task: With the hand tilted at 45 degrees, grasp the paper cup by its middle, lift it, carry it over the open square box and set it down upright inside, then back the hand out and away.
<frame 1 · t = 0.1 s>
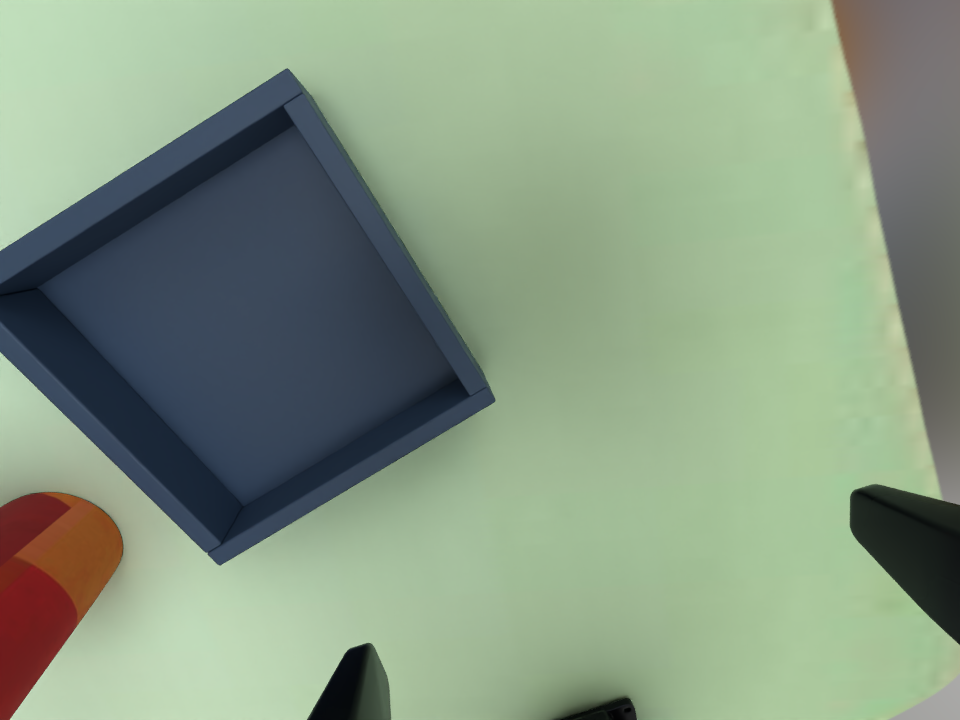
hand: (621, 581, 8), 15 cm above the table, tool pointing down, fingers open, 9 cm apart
open square box: (274, 330, 21), on the table
paper cup: (62, 540, 22), on the table
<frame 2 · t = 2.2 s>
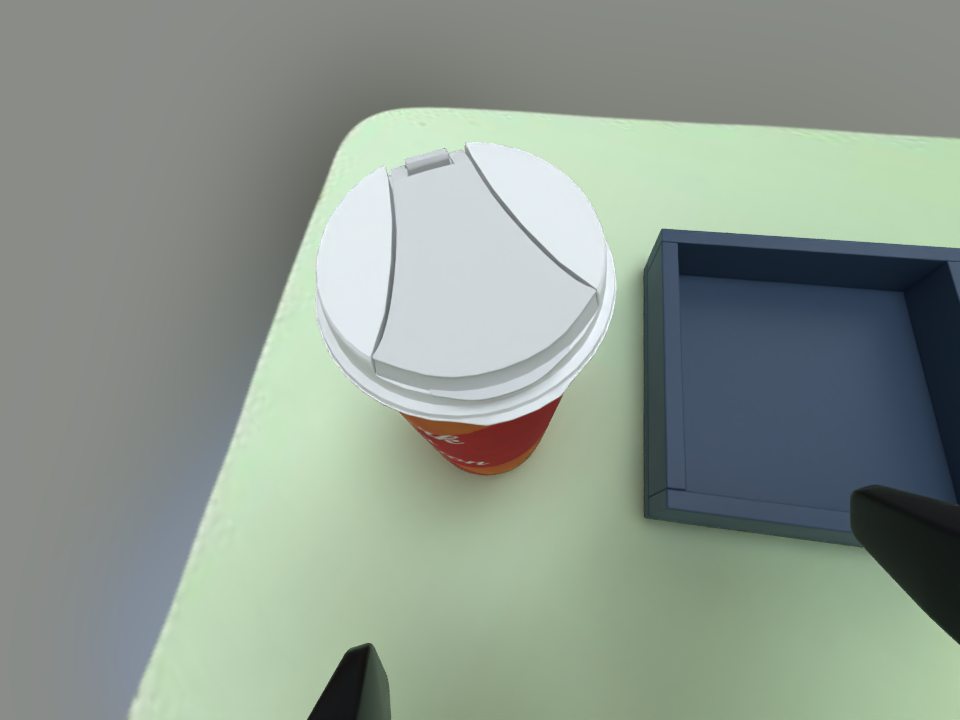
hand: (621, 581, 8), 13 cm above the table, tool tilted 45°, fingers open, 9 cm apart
open square box: (785, 393, 23), on the table
paper cup: (488, 422, 24), on the table
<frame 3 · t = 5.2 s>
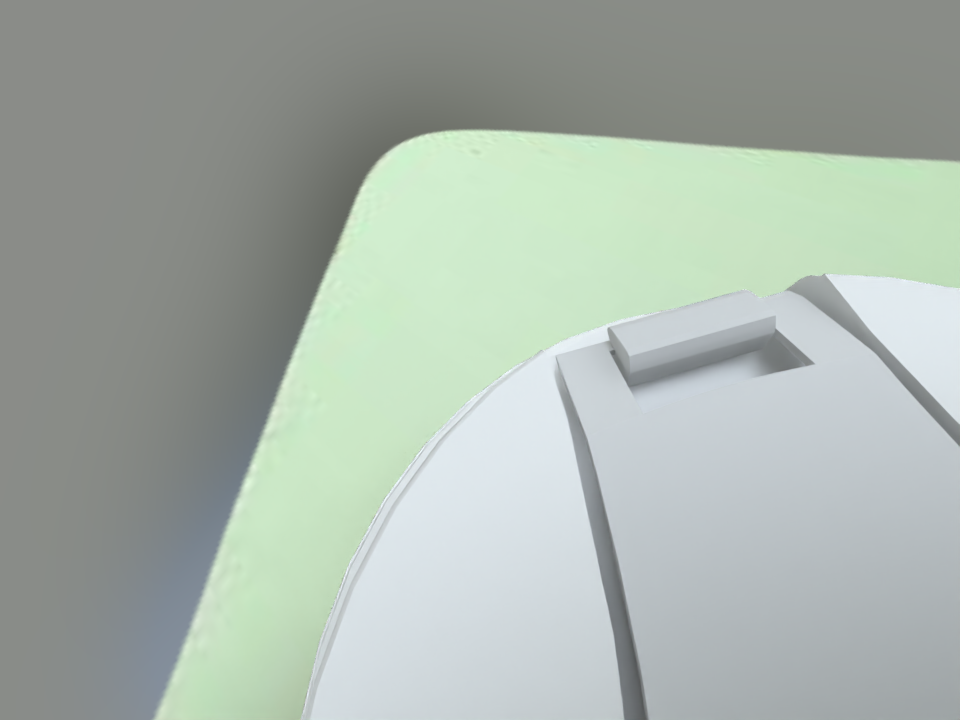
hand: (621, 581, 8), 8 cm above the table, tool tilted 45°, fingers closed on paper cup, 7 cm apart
paper cup: (591, 632, 15), on the table, touching gripper
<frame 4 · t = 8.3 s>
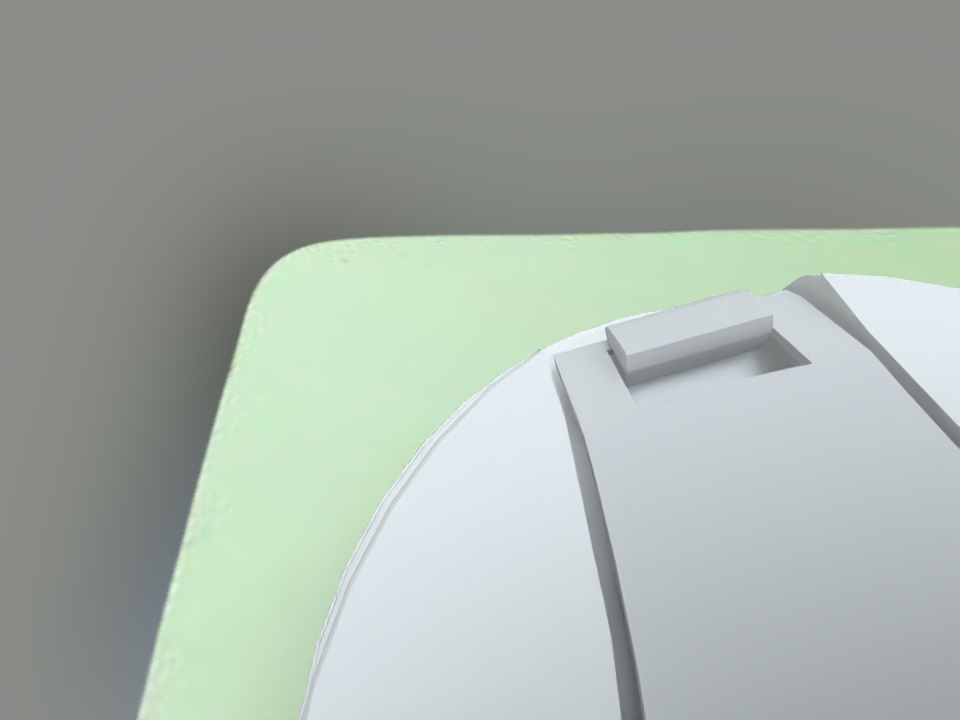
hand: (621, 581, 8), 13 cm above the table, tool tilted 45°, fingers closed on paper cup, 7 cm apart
paper cup: (590, 632, 15), point 5 cm above the table, touching gripper
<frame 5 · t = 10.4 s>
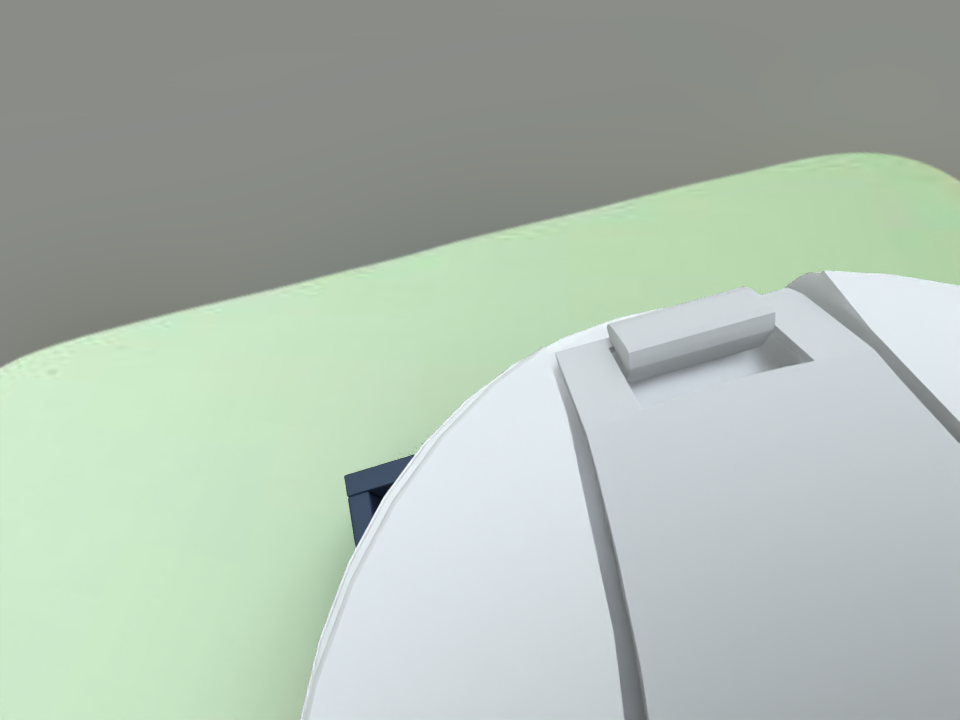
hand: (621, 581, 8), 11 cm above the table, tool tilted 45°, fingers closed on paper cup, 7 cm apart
open square box: (575, 614, 18), on the table
paper cup: (591, 631, 15), point 3 cm above the table, touching gripper
when the fingers open (8 cm above the table, at t = 11.8 s): paper cup stays where it is, resting on open square box.
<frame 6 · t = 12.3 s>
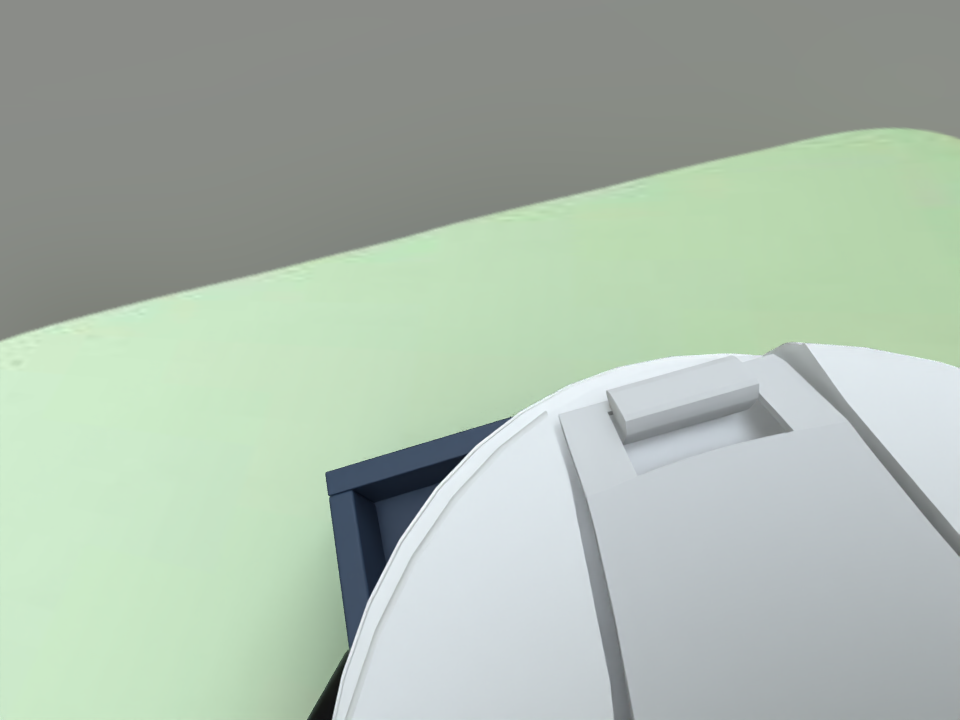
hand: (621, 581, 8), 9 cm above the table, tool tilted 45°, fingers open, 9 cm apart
open square box: (586, 630, 16), on the table
paper cup: (591, 639, 15), point 1 cm above the table, touching open square box
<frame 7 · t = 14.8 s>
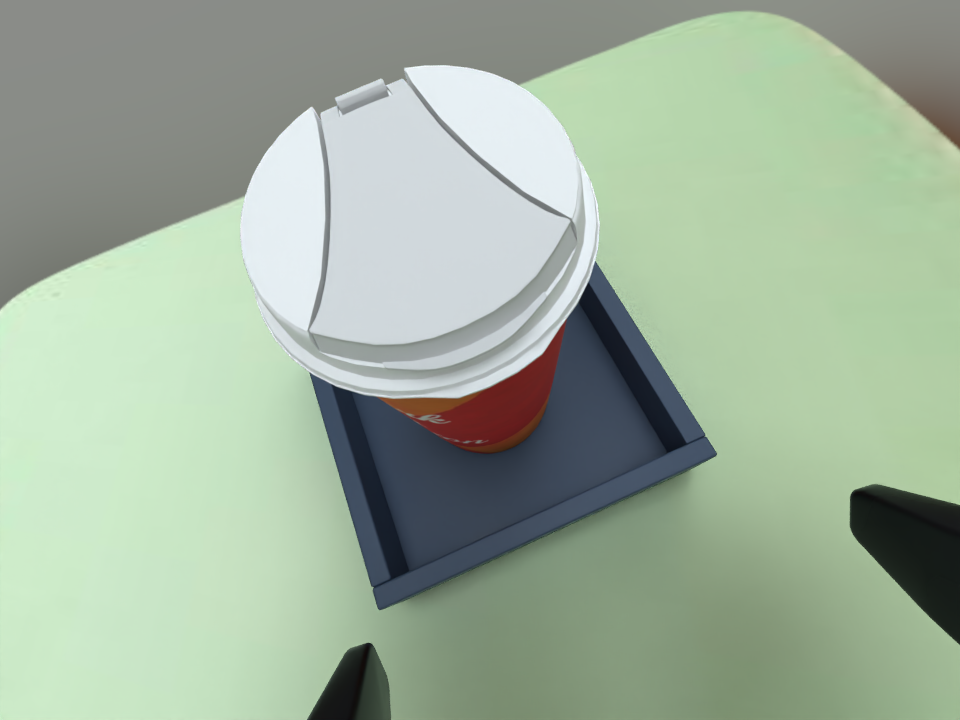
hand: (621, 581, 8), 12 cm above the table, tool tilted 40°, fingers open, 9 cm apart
open square box: (487, 397, 23), on the table
paper cup: (488, 397, 22), point 1 cm above the table, touching open square box
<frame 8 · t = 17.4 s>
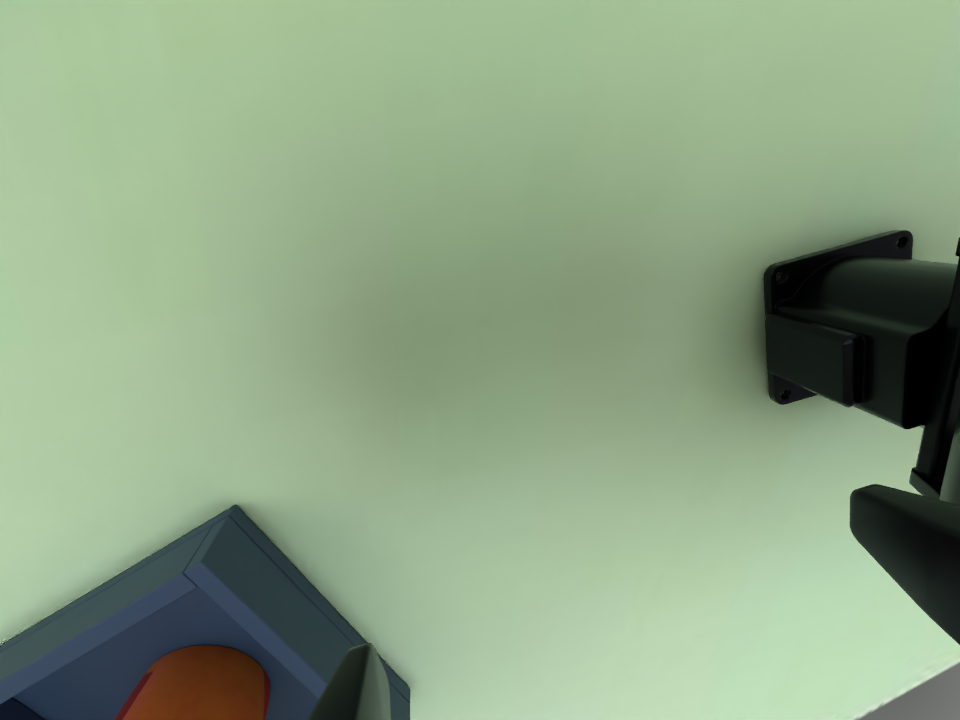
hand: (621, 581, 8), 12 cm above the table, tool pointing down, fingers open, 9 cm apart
open square box: (211, 675, 22), on the table
paper cup: (210, 686, 22), point 1 cm above the table, touching open square box
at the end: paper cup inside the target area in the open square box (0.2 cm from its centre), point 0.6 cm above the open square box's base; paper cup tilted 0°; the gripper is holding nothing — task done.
